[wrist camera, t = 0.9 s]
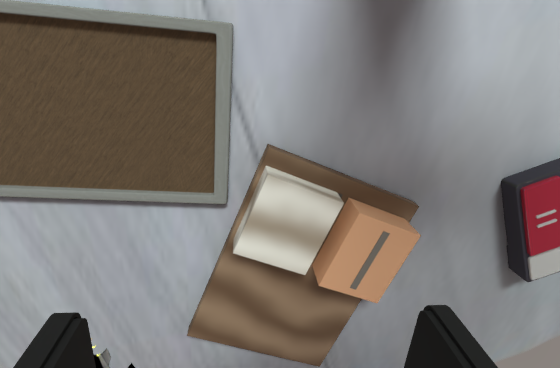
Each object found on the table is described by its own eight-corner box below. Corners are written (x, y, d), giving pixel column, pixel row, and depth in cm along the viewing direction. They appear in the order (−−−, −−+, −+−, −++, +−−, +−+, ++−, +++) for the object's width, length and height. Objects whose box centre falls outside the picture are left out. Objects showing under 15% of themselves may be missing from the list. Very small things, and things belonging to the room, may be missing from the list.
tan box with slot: (348, 197, 40) (360, 213, 36) (404, 218, 41) (421, 236, 38) (312, 265, 43) (318, 286, 39) (366, 282, 44) (377, 303, 41)
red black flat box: (611, 155, 39) (611, 259, 44) (577, 147, 43) (581, 243, 48) (520, 188, 40) (531, 287, 45) (495, 176, 44) (507, 268, 49)
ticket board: (267, 143, 38) (270, 155, 34) (413, 201, 43) (431, 218, 39) (188, 326, 47) (183, 354, 42) (317, 358, 51) (324, 385, 47)
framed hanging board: (227, 205, 39) (-64, 195, 35) (227, 199, 41) (-51, 189, 37) (233, 22, 32) (-128, -15, 28) (233, 23, 34) (-110, -11, 30)
